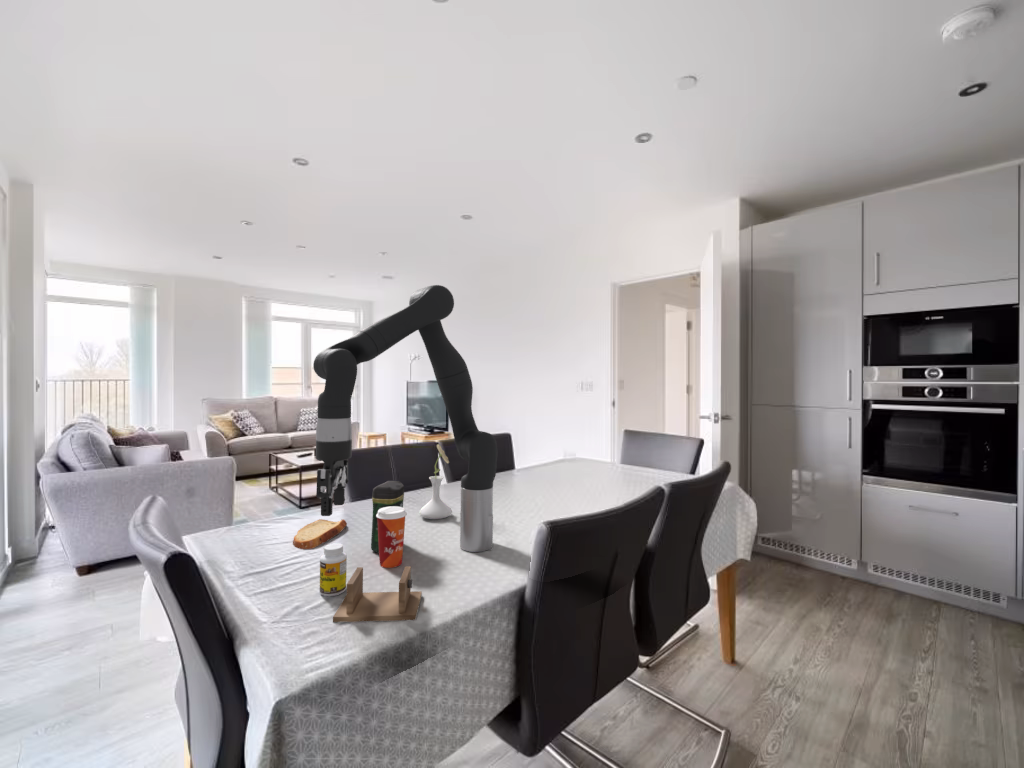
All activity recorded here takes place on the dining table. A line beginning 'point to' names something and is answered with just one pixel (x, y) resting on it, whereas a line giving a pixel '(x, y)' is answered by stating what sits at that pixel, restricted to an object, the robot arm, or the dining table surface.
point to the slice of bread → (317, 533)
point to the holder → (378, 601)
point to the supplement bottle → (333, 570)
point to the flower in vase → (436, 496)
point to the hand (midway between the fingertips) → (333, 509)
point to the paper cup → (391, 535)
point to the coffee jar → (384, 504)
